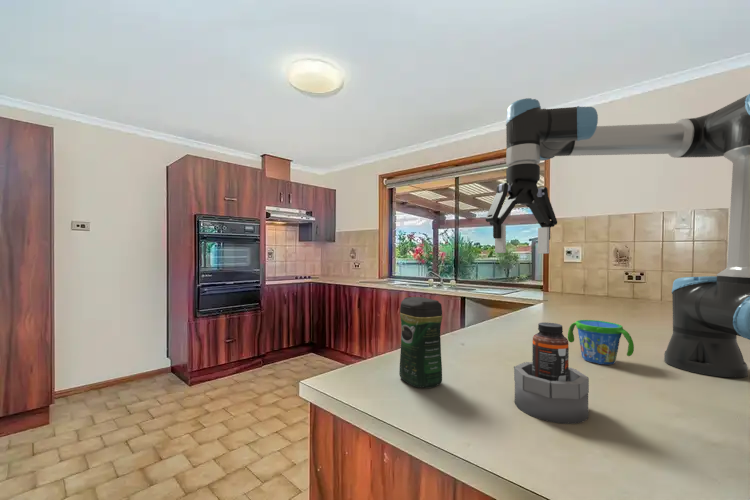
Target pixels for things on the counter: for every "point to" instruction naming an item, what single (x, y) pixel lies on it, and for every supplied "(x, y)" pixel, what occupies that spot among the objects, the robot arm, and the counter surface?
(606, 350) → the snack cup
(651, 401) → the counter surface
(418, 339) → the coffee jar
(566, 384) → the octagonal grey sleeve
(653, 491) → the counter surface
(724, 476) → the counter surface
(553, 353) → the supplement bottle
